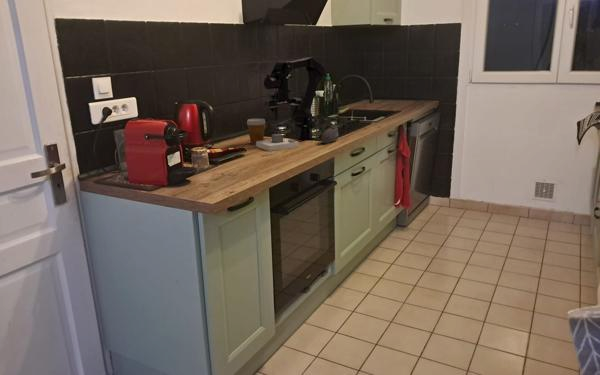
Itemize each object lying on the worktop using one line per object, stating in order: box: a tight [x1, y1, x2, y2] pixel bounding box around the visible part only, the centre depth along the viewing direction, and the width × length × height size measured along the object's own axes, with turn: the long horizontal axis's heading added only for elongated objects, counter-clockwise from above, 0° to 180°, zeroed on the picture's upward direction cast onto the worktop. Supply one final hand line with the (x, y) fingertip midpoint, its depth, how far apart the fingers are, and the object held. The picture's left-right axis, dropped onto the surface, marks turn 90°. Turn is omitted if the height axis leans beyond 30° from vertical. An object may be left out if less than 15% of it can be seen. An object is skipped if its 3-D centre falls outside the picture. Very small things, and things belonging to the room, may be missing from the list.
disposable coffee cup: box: [246, 118, 266, 146], centre depth 247 cm, size 10×10×12 cm
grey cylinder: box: [271, 133, 284, 143], centre depth 239 cm, size 4×4×6 cm
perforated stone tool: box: [320, 126, 339, 144], centre depth 248 cm, size 15×5×7 cm, turn 146°
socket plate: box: [255, 137, 300, 152], centre depth 239 cm, size 16×14×3 cm
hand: (284, 119), depth 244 cm, fingers open, 9 cm apart
